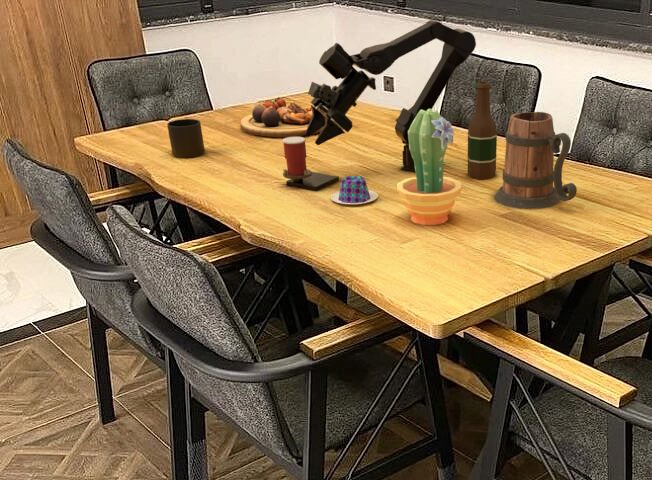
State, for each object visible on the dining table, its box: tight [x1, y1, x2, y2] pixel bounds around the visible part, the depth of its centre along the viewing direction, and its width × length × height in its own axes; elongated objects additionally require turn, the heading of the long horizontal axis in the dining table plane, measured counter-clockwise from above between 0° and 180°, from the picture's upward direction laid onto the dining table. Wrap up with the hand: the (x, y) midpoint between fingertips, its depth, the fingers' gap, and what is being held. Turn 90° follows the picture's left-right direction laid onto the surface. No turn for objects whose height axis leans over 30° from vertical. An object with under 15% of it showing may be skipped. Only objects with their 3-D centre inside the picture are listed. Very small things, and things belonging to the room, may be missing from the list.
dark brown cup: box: [166, 118, 206, 159], centre depth 247 cm, size 9×12×9 cm
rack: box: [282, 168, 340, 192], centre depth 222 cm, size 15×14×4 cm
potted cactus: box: [396, 109, 462, 226], centre depth 192 cm, size 15×15×25 cm
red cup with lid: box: [282, 136, 308, 175], centre depth 218 cm, size 6×6×9 cm
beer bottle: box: [467, 81, 498, 180], centre depth 220 cm, size 8×8×24 cm
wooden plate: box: [239, 96, 323, 138], centre depth 273 cm, size 32×32×8 cm
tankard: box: [493, 111, 578, 210], centre depth 203 cm, size 24×17×20 cm
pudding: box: [330, 175, 379, 205], centre depth 210 cm, size 12×12×5 cm
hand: (311, 139), depth 217 cm, fingers open, 9 cm apart
